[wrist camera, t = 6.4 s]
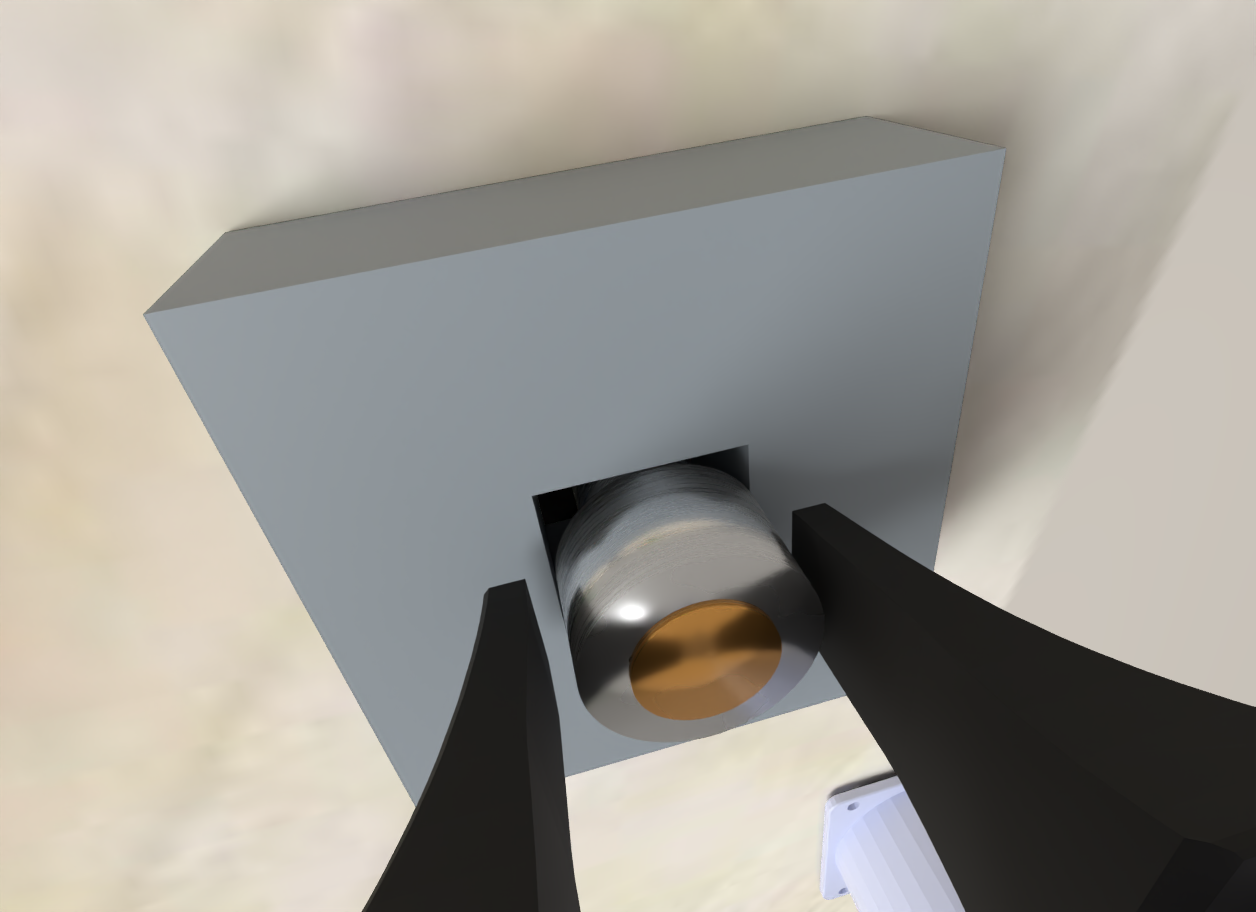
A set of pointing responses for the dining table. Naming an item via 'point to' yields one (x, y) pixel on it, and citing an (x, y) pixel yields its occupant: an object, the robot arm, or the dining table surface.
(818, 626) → the pin
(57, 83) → the dining table surface
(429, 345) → the block
